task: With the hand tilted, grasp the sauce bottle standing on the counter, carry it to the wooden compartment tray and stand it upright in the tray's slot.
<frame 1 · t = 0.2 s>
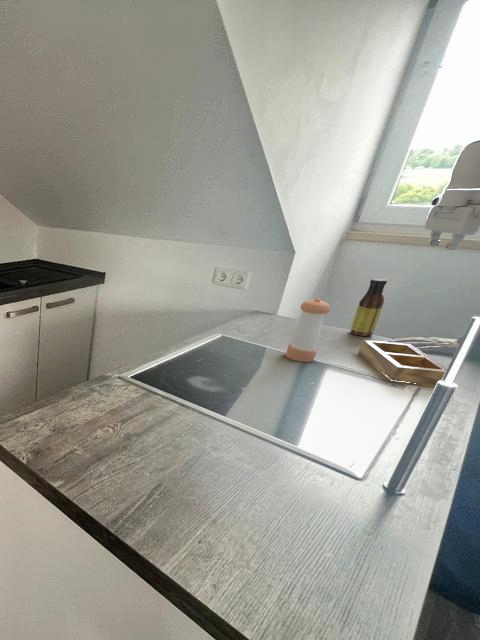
hand: (441, 247, 121), 31 cm above the counter, tool pointing down, fingers open, 8 cm apart
wooden compartment tray: (398, 369, 113), on the counter
pepper shaker: (299, 358, 123), on the counter
sauce bottle: (359, 334, 140), on the counter
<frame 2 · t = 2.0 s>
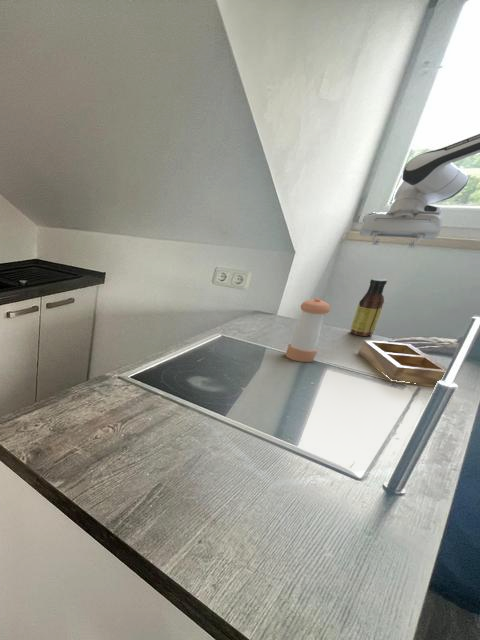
hand: (393, 245, 136), 30 cm above the counter, tool tilted 45°, fingers open, 8 cm apart
nothing on the counter moved.
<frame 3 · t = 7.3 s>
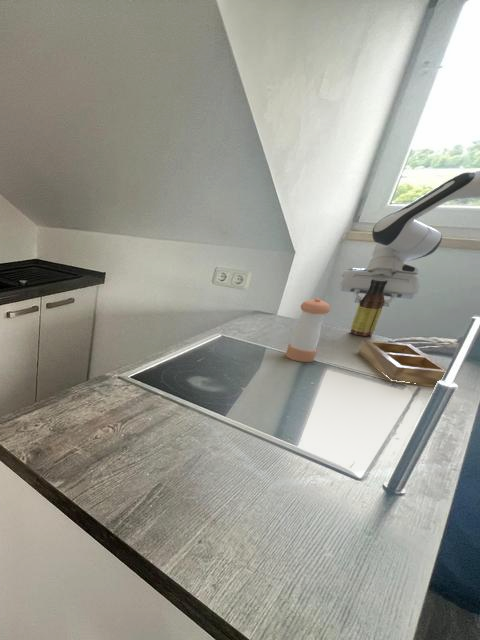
hand: (371, 303, 135), 11 cm above the counter, tool tilted 45°, fingers closed on sauce bottle, 6 cm apart
sauce bottle: (359, 334, 140), on the counter, touching gripper
everything else where it was.
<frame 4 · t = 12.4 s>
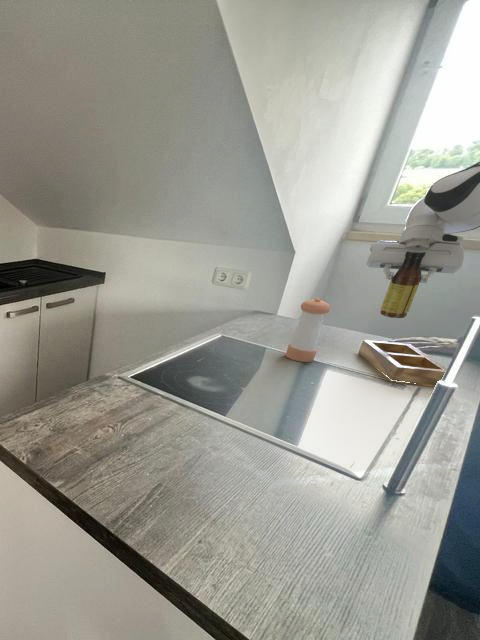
hand: (405, 280, 116), 23 cm above the counter, tool tilted 45°, fingers closed on sauce bottle, 6 cm apart
sauce bottle: (391, 316, 122), point 12 cm above the counter, touching gripper
everything else where it was.
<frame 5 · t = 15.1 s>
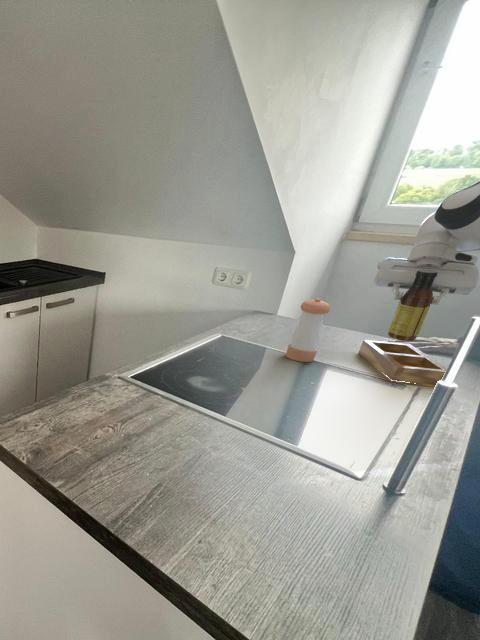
hand: (416, 301, 109), 19 cm above the counter, tool tilted 45°, fingers closed on sauce bottle, 6 cm apart
sauce bottle: (399, 338, 115), point 8 cm above the counter, touching gripper
everything else where it was.
when the fingers open (12 cm above the counter, at t = 17.6 s): sauce bottle stays where it is, resting on wooden compartment tray.
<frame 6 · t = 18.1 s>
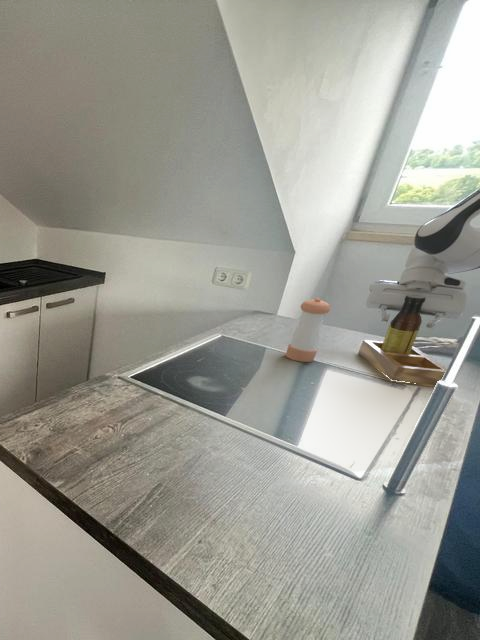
hand: (406, 323, 112), 13 cm above the counter, tool tilted 45°, fingers open, 8 cm apart
sauce bottle: (390, 360, 117), point 1 cm above the counter, touching wooden compartment tray
everything else where it was.
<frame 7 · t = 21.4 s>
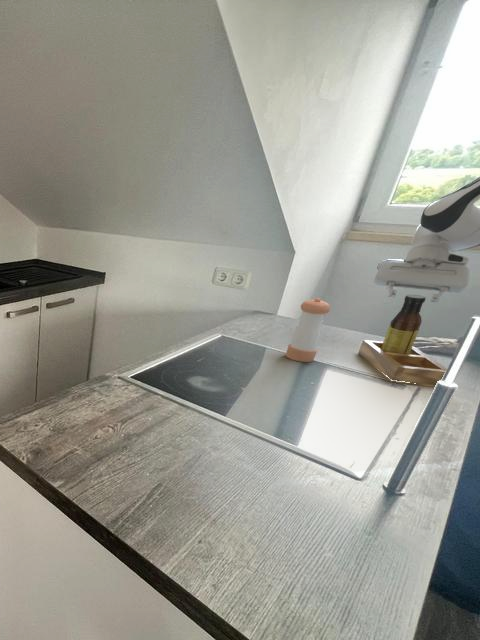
hand: (412, 298, 119), 17 cm above the counter, tool tilted 45°, fingers open, 8 cm apart
nothing on the counter moved.
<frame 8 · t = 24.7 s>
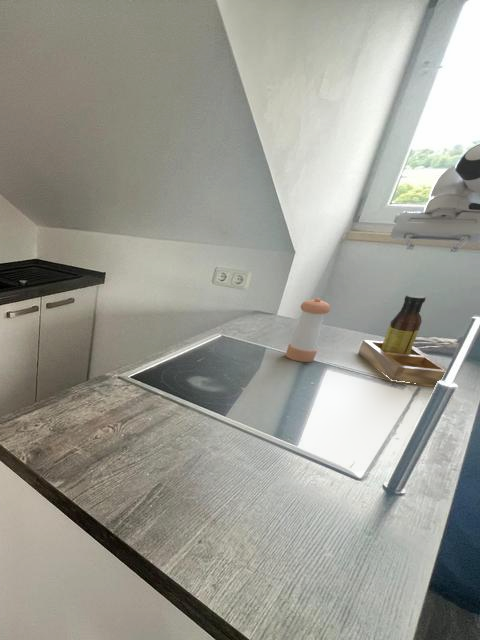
hand: (431, 249, 117), 31 cm above the counter, tool tilted 45°, fingers open, 8 cm apart
nothing on the counter moved.
at the end: sauce bottle 0.0 cm from the target spot in the wooden compartment tray, point 0.6 cm above the wooden compartment tray's base; sauce bottle tilted 0°; the gripper is holding nothing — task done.
